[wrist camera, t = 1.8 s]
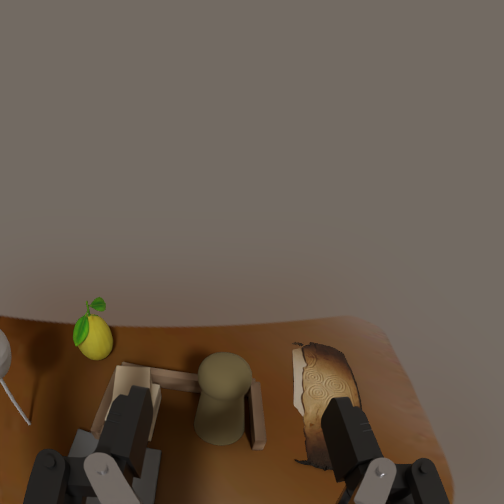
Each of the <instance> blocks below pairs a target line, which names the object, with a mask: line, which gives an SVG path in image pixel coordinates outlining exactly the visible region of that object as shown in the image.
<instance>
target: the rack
mask: <svg viewBox="0 0 504 504" xmlns="http://www.w3.org/2000/svg"><path fill="white" fill-rule="evenodd" d="M121 366H129V367H146V366H141V365H136V364H131V363H126V362H122V365H121ZM150 371H151V378H152V384H157V385H160V388H166V389H173V390H180V391H187V392H195V393H201V391H202V389H201V388H200V385H199V382H198V374H193V373H185V372H178V371H171V370H164V369H158V368H152V367H150ZM115 374H116V368H115V370H114V373H113V375H112V377H111V380H110V382H109V384H108V387H107V389H106V392H105V394H104V396H103V399H102V401H101V404H100V406H99V409H98V411H97V414H96V417H95V419H94V422H93V425H92V427H91V430H90V431H91V433H92V434H93V436H94V438H95V439H98V440H99V438H100V435H101V432H102V429H103V426H104V424H105V417H106V415H107V412H108V410H109V407H110V405H111V402H112V397H113V389H114V381H115ZM244 397H248V401H249V416H250V430H251V443H252V450H263V448H264V445H265V443H266V441H267V440H266V431H265V423H264V414H263V405H262V397H261V388H260V382H255V379H252V383H251V386H250V388H249V390H248V391H247V393H246V394H245V395H244Z"/></svg>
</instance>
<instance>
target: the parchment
mask: <svg viewBox="0 0 504 504" xmlns="http://www.w3.org/2000/svg"><path fill="white" fill-rule="evenodd" d="M292 344H298V345H299V346H300V345H301V346H302V345H304V344H302V343H296V342H295V343H292ZM293 368H294V406H295V407H296V408H297V409H298V410H299V412H300V413H301V414H302V416H303V422H304V425H305V427H304V434H305V438H306V440H305V445H306V452H307V458H308V460H307V461H306V460H305V461H298V460H295V461H297V462H298V463H301V464H304V465H312V466H314V467H316V468H321V469H324V470H325V471H326V470H328V469H330V470H333V467H332V464H331V460H330V457H329V453H328V449H327V446H326V442H325V439H324V435H323V432H322V428H321V417H322V415H323V413H324V411H325V409H326V407H327V406H328V404H329V402H330V400H331V399H332V398H336V397H349V398H350V400H351V402H352V405H353V407H354V406H358V407H359V408H360V409H361V410H362V405H361V399H360V395H359V391H358V387H357V383H356V381H355V379H354V375H353V373H352V370H351V368H350V367H349V365H348V363H347V361H346V358H345V356H344V354H343V353H342V352H340V351H338V350H337V349H335V348H333V347H330V346H325V345H322V344H318V343H315V344H314V343H312V342H310V345H305V346H303V347H302V348H299V349H294V350H293ZM310 423H312V424H314V426H312V427H310Z"/></svg>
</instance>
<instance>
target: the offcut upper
mask: <svg viewBox="0 0 504 504" xmlns="http://www.w3.org/2000/svg"><path fill="white" fill-rule="evenodd" d="M132 385H136V386H141V387H146V388H149V389H150V394H151V399H152V378H151V371H150V367H129V366H117V367H116V374H115V381H114V389H113V397H112V402H113V401H114V400H115V399H116V398H117V397H118V396H119V395H120V394H123V395H127V396H128V394H129V391H130V388H131V386H132ZM152 404H153V402H152ZM152 423H153V420H152Z"/></svg>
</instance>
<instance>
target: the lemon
mask: <svg viewBox="0 0 504 504" xmlns="http://www.w3.org/2000/svg"><path fill="white" fill-rule="evenodd" d="M86 305H87V313H88V314H87V313H86V314H85V315H84V316H83V317H81V318H80V319H79V320H78V321H77V322H76V324H75V328H74V332H73V340H74V343H75V346H78V347H79V349H80V350H81V352H82V353H83V354H84V355H85V356H86V357H88V358H89V359H92V360H102V359H104V358H106V357H107V356H108V355H109V354H110V352H111V350H112V346H113V338H112V334H111V331H110V328H109V326H108V325H107V323H106V322H105V321H104V320H103V319H102V318H101V317H99V316H98V315H95V314H90V311H89V307H88V306H90V307H92V308H94V309H95V310H97V311H104V310H105V308H106V304H105V302H104V300H103V299H102V298H100V297H98V298H96V299H95V300H94V301H93V302H92V303H91V305H88V302H87V301H86Z"/></svg>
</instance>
